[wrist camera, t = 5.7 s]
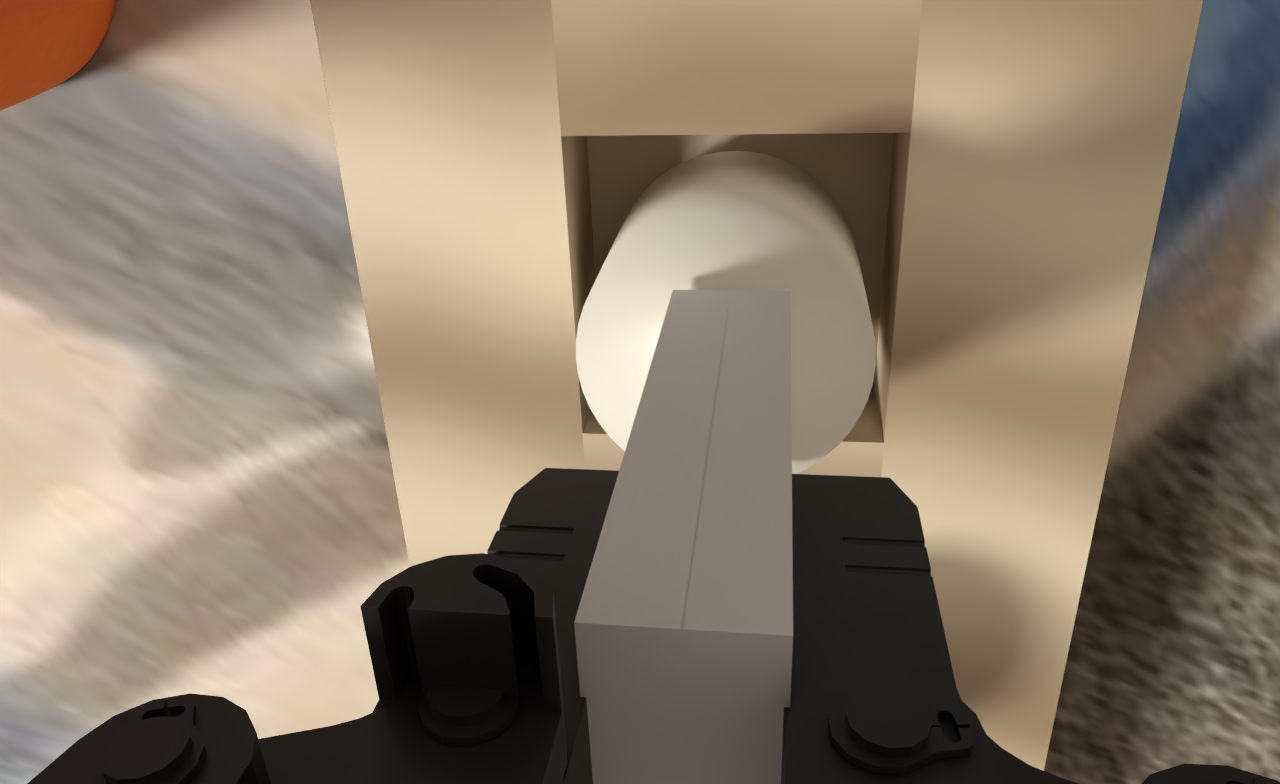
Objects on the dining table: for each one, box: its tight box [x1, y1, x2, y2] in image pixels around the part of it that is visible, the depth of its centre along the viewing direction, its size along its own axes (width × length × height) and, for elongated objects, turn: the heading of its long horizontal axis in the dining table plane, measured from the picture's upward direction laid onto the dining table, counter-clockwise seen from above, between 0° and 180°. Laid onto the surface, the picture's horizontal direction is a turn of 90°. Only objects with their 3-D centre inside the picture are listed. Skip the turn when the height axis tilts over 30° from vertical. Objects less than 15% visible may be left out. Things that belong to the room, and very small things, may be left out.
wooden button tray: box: [310, 0, 1203, 771], centre depth 20 cm, size 24×12×4 cm, turn 2°
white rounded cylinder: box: [576, 151, 876, 474], centre depth 15 cm, size 4×4×4 cm
